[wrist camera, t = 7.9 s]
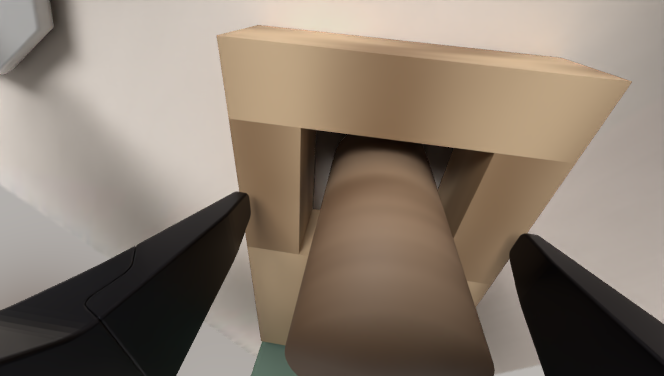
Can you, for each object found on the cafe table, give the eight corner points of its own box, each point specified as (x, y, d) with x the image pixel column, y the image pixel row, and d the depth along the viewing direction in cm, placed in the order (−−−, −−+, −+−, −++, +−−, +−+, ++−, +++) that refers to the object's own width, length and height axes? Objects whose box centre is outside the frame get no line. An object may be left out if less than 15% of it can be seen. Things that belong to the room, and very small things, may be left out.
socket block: (560, 57, 9) (632, 82, 6) (423, 320, 18) (431, 371, 16) (257, 25, 9) (216, 35, 7) (276, 296, 19) (261, 341, 16)
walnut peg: (413, 208, 13) (451, 420, 6) (329, 196, 13) (286, 389, 7) (439, 129, 11) (539, 337, 4) (337, 116, 11) (282, 295, 4)
